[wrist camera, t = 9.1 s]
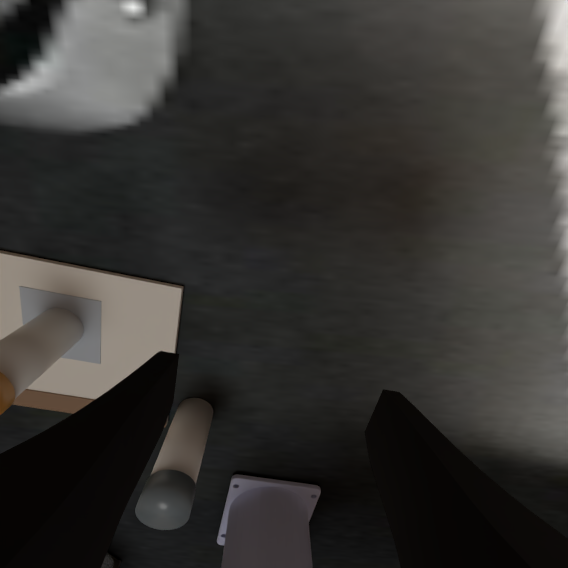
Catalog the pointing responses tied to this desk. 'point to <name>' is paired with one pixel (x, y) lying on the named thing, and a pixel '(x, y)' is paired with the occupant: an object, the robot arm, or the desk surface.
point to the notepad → (88, 325)
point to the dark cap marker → (176, 468)
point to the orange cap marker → (35, 350)
